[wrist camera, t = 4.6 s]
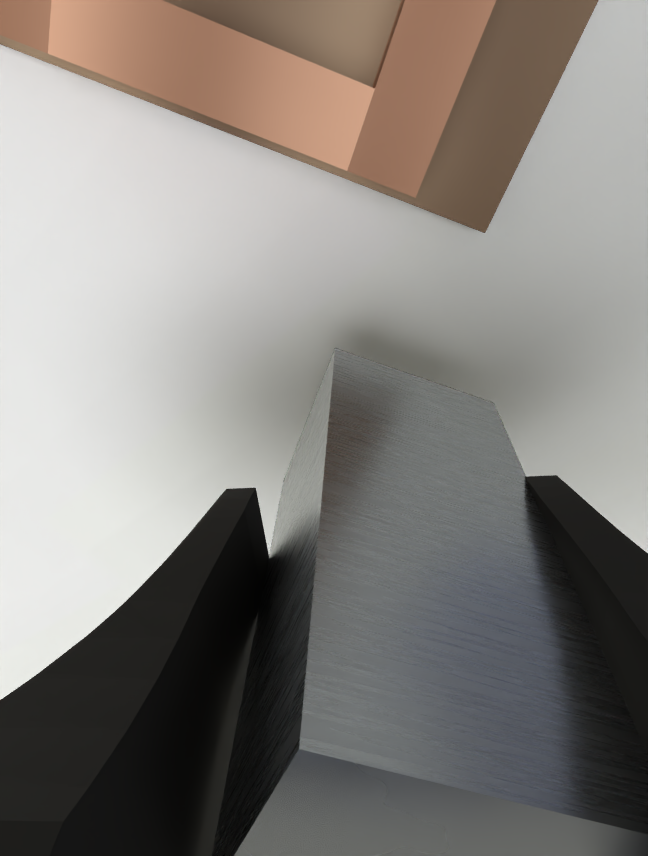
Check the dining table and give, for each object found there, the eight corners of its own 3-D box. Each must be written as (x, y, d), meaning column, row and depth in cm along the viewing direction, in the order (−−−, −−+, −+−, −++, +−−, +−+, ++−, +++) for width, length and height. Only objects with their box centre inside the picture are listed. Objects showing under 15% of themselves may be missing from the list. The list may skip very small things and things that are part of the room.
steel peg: (493, 402, 13) (687, 844, 5) (423, 522, 15) (489, 967, 7) (334, 347, 13) (299, 748, 5) (283, 479, 15) (200, 910, 7)
